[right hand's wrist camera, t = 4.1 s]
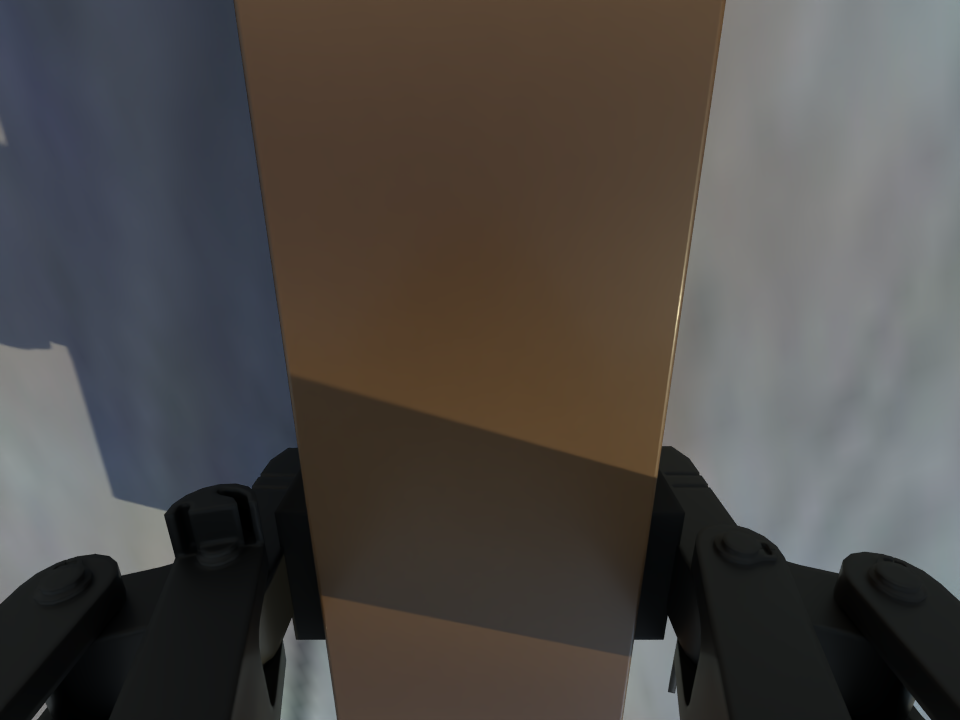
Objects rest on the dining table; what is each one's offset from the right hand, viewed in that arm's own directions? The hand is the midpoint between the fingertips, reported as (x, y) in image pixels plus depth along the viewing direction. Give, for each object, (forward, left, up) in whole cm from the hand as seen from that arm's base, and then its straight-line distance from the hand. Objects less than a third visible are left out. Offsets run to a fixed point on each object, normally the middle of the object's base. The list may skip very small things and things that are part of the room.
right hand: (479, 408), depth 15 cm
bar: (+7, +22, -1) cm, 23 cm away
